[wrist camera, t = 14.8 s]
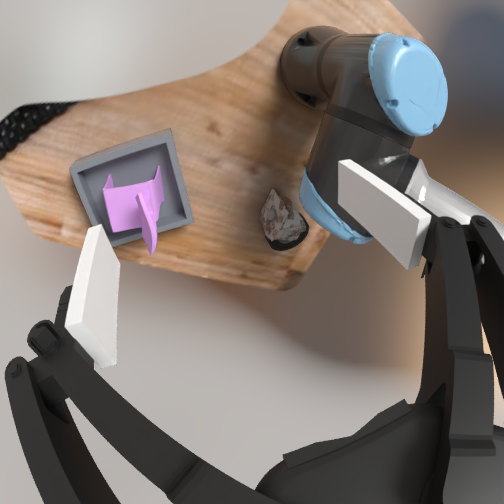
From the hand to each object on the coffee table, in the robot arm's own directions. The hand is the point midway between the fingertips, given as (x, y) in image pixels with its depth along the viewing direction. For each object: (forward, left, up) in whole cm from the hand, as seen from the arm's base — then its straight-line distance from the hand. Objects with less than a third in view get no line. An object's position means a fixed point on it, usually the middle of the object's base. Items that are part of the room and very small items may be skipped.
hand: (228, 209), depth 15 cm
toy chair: (+10, +10, -32) cm, 35 cm away
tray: (+10, +10, -33) cm, 35 cm away
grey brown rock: (-14, +24, -33) cm, 43 cm away
